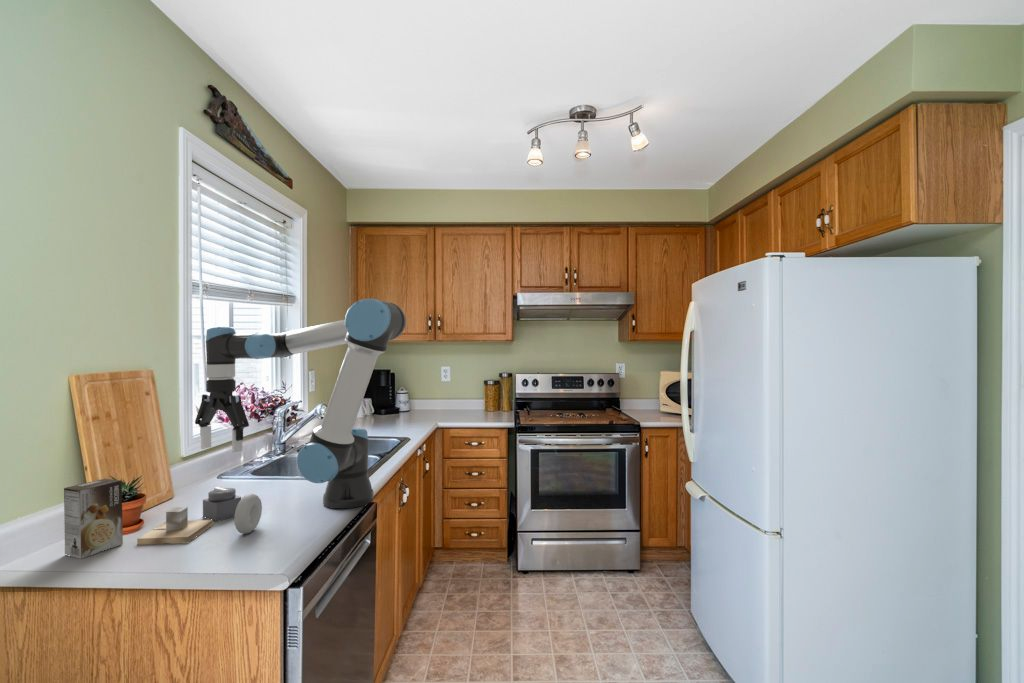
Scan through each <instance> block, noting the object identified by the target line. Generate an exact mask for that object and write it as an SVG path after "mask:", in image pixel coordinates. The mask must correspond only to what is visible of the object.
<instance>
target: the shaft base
mask: <svg viewBox="0 0 1024 683" xmlns="http://www.w3.org/2000/svg"><path fill="white" fill-rule="evenodd" d="M188 510H189V509H188V506H187V507H186V506H182V507H181V506H180V507H179V506H178V507H173V508H171V509H169V510H167V511H166V512H165V522H163V523H161V524H159V525H158V526H156V527H155V528H153V529H151V530H150V531H147V532H146V533H144V534H143V535H141V536H139V537H138V538H137V539H136V540H137V541H136V543H137V544H136V545H137V546H138V545H139V546H140V545H142V546H143V545H162V544H163V545H165V544H164V543H170V544H184V543H183V542H189V543H191V540H192V539H193V540H195V539H196V538H197V537H198V535H199V534H200V535H202V534H203V533H204V532H206V531H207V530H208V529H210V528H211V527H213V526H214V521H213V520H210V519H197V520H196V519H195V520H188V516H189V515H188V514H189V512H188ZM212 525H213V526H212ZM209 527H210V528H209ZM206 529H207V530H206ZM205 530H206V531H205ZM202 532H203V533H202ZM200 535H199V536H200ZM196 536H197V537H196ZM195 537H196V538H195ZM193 540H192V541H193Z"/></svg>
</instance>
